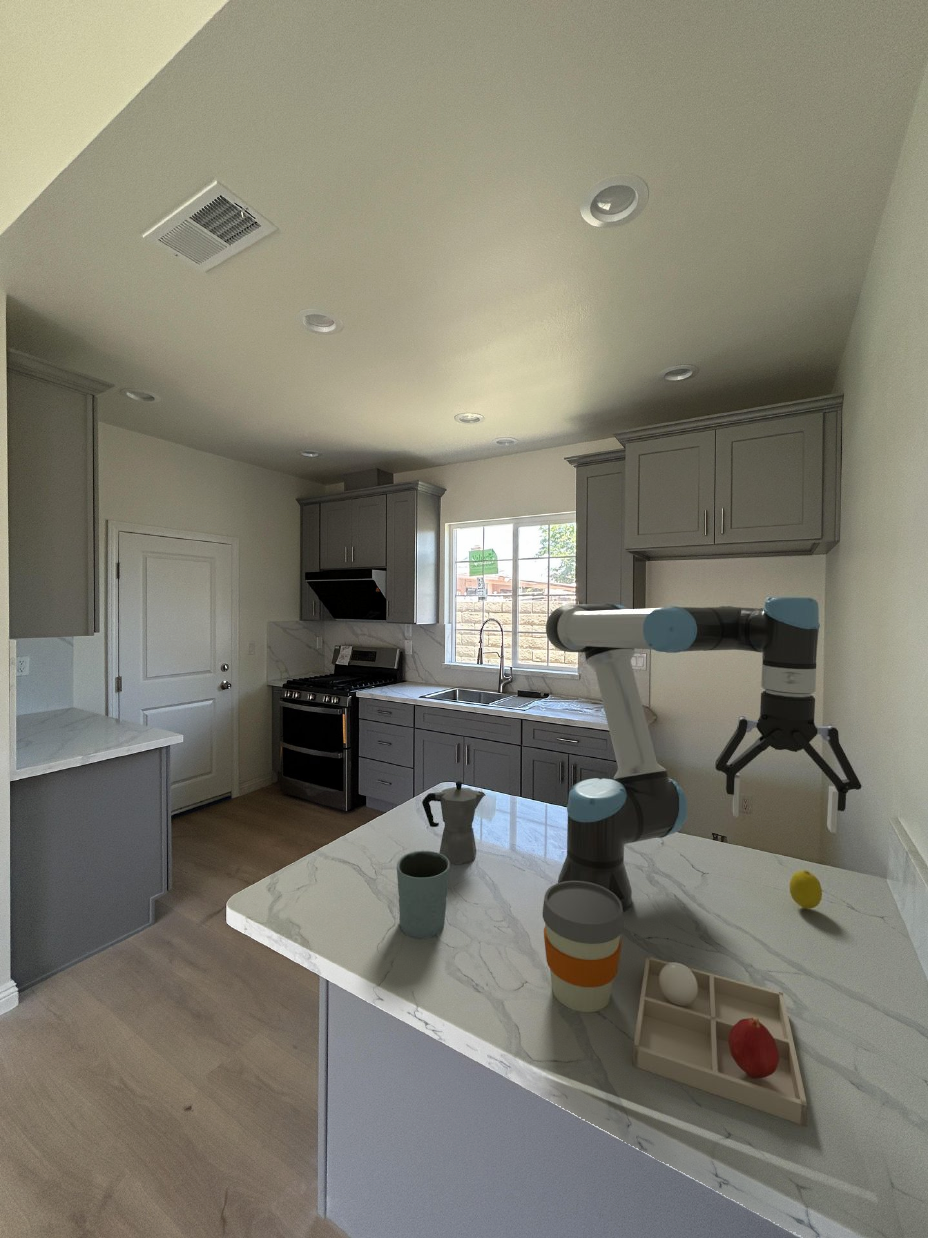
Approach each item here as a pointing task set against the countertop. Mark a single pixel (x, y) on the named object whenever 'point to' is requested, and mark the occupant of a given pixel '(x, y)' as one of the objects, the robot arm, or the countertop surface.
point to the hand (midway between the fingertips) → (781, 821)
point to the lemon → (805, 889)
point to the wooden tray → (717, 1041)
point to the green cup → (422, 892)
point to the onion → (753, 1048)
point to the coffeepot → (456, 821)
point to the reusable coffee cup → (582, 942)
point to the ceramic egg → (678, 984)
